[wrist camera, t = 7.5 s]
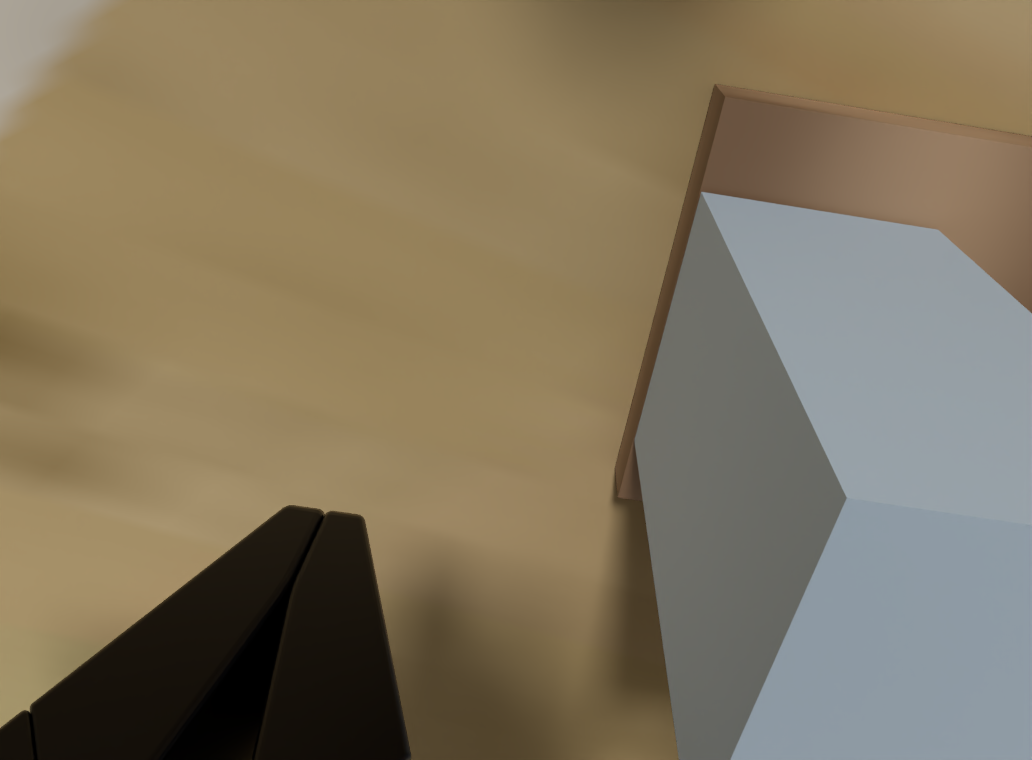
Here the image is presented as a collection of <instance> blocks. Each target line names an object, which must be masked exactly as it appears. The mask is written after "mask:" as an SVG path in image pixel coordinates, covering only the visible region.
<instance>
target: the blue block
mask: <svg viewBox="0 0 1032 760" xmlns="http://www.w3.org/2000/svg"><path fill="white" fill-rule="evenodd" d="M634 441H635V448H636V456H637V463H638V470H639V477H640V484H641V491H642V499H643V506H644V513H645V520H646V527H647V534H648V541H649V549H650V556H651V563H652V570H653V577H654V584H655V592H656V599H657V606H658V613H659V620H660V627H661V635H662V642H663V649H664V656H665V663H666V670H667V678H668V685H669V692H670V699H671V706H672V713H673V721H674V728H675V735H676V742H677V749H678V756H679V760H1032V313H1031V312H1029V311H1028V310H1027V309H1026V308H1025V307H1024V306H1023V305H1022V304H1021V303H1019V302H1018V301H1017V300H1016V299H1015V298H1014V297H1013V296H1012V295H1010V294H1009V293H1008V292H1007V291H1006V290H1005V289H1004V288H1003V287H1002V286H1000V285H999V284H998V283H997V282H996V281H995V280H994V279H993V278H991V277H990V276H989V275H988V274H987V273H986V272H985V271H984V270H983V269H981V268H980V267H979V266H978V265H977V264H976V263H975V262H974V261H973V260H971V259H970V258H969V257H968V256H967V255H966V254H965V253H964V252H962V251H961V250H960V249H959V248H958V247H957V246H956V245H955V244H954V243H952V242H951V241H950V240H949V239H948V238H947V237H946V236H945V235H943V234H942V233H941V232H940V231H939V230H936V229H930V228H924V227H918V226H912V225H905V224H899V223H893V222H887V221H880V220H874V219H868V218H862V217H856V216H849V215H843V214H837V213H831V212H824V211H818V210H812V209H806V208H799V207H793V206H787V205H781V204H775V203H768V202H762V201H756V200H750V199H743V198H737V197H731V196H725V195H718V194H712V193H706V192H701V195H700V198H699V202H698V206H697V210H696V213H695V217H694V221H693V224H692V228H691V232H690V236H689V239H688V243H687V247H686V250H685V254H684V258H683V262H682V265H681V269H680V273H679V276H678V280H677V284H676V288H675V291H674V295H673V299H672V302H671V306H670V310H669V314H668V317H667V321H666V325H665V329H664V332H663V336H662V340H661V343H660V347H659V351H658V355H657V358H656V362H655V366H654V369H653V373H652V377H651V381H650V384H649V388H648V392H647V395H646V399H645V403H644V407H643V410H642V414H641V418H640V421H639V425H638V429H637V433H636V436H635V440H634Z"/></svg>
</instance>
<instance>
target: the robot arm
mask: <svg viewBox="0 0 1032 760" xmlns="http://www.w3.org/2000/svg"><path fill="white" fill-rule="evenodd" d="M0 760H411V752H410V747H409V742H408V737H407V732H406V727H405V722H404V717H403V712H402V707H401V701H400V696H399V691H398V686H397V681H396V676H395V671H394V666H393V661H392V656H391V651H390V646H389V641H388V635H387V630H386V625H385V620H384V615H383V610H382V605H381V600H380V595H379V590H378V585H377V580H376V575H375V569H374V564H373V559H372V554H371V549H370V544H369V539H368V534H367V529H366V524H365V520H364V518H363V517H362V516H361V515H358V514H351V513H344V512H337V511H330V512H328V513H326V514H324V512H323V511H322V510H321V509H316V508H309V507H302V506H295V505H289V506H286V507H284V508H282V509H281V510H280V511H278V512H277V513H276V514H275V515H273V516H272V517H271V518H270V519H268V520H267V521H266V522H264V523H263V524H262V525H261V526H259V527H258V528H257V529H255V530H254V531H253V532H252V533H250V534H249V535H248V536H246V537H245V538H244V539H243V540H241V541H240V542H239V543H237V544H236V545H235V546H234V547H232V548H231V549H230V550H228V551H227V552H226V553H225V554H223V555H222V556H221V557H219V558H218V559H217V560H216V561H214V562H213V563H212V564H211V565H209V566H208V567H207V568H205V569H204V570H203V571H202V572H200V573H199V574H198V575H196V576H195V577H194V578H193V579H191V580H190V581H189V582H187V583H186V584H185V585H184V586H182V587H181V588H180V589H178V590H177V591H176V592H175V593H173V594H172V595H171V596H169V597H168V598H167V599H166V600H164V601H163V602H162V603H160V604H159V605H158V606H157V607H155V608H154V609H153V610H152V611H150V612H149V613H148V614H146V615H145V616H144V617H143V618H141V619H140V620H139V621H137V622H136V623H135V624H134V625H132V626H131V627H130V628H128V629H127V630H126V631H125V632H123V633H122V634H121V635H119V636H118V637H117V638H116V639H114V640H113V641H112V642H110V643H109V644H108V645H107V646H105V647H104V648H103V649H101V650H100V651H99V652H98V653H96V654H95V655H94V656H92V657H91V658H90V659H89V660H87V661H86V662H85V663H84V664H82V665H81V666H80V667H78V668H77V669H76V670H75V671H73V672H72V673H71V674H69V675H68V676H67V677H66V678H64V679H63V680H62V681H60V682H59V683H58V684H57V685H55V686H54V687H53V688H51V689H50V690H49V691H48V692H46V693H45V694H44V695H42V696H41V697H40V698H39V699H37V700H36V701H35V702H33V703H32V704H31V706H30V712H29V711H26V710H24V711H22V712H20V713H19V714H18V715H16V716H15V717H14V718H12V719H11V720H10V721H9V722H7V723H6V724H5V725H3V726H2V727H1V728H0Z"/></svg>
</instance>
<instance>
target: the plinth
mask: <svg viewBox="0 0 1032 760" xmlns="http://www.w3.org/2000/svg"><path fill="white" fill-rule="evenodd" d="M701 192H706V193H712V194H718V195H725V196H731V197H737V198H743V199H750V200H756V201H762V202H768V203H775V204H781V205H787V206H793V207H799V208H806V209H812V210H818V211H824V212H831V213H837V214H843V215H849V216H856V217H862V218H868V219H874V220H880V221H887V222H893V223H899V224H905V225H912V226H918V227H924V228H930V229H936V230H939V231H940V232H941V233H942V234H943V235H945V236H946V237H947V238H948V239H949V240H950V241H951V242H952V243H954V244H955V245H956V246H957V247H958V248H959V249H960V250H961V251H962V252H964V253H965V254H966V255H967V256H968V257H969V258H970V259H971V260H973V261H974V262H975V263H976V264H977V265H978V266H979V267H980V268H981V269H983V270H984V271H985V272H986V273H987V274H988V275H989V276H990V277H991V278H993V279H994V280H995V281H996V282H997V283H998V284H999V285H1000V286H1002V287H1003V288H1004V289H1005V290H1006V291H1007V292H1008V293H1009V294H1010V295H1012V296H1013V297H1014V298H1015V299H1016V300H1017V301H1018V302H1019V303H1021V304H1022V305H1023V306H1024V307H1025V308H1026V309H1027V310H1028V311H1029V312H1031V313H1032V136H1026V135H1020V134H1014V133H1008V132H1002V131H996V130H990V129H984V128H978V127H972V126H966V125H960V124H954V123H948V122H942V121H936V120H930V119H924V118H917V117H911V116H905V115H899V114H893V113H887V112H881V111H875V110H869V109H863V108H857V107H851V106H845V105H839V104H833V103H827V102H821V101H815V100H809V99H803V98H797V97H791V96H785V95H779V94H773V93H767V92H761V91H755V90H748V89H742V88H736V87H730V86H724V85H718V84H715V86H714V89H713V93H712V97H711V101H710V105H709V109H708V112H707V116H706V120H705V124H704V128H703V132H702V136H701V139H700V143H699V147H698V151H697V155H696V159H695V162H694V166H693V170H692V174H691V178H690V182H689V186H688V189H687V193H686V197H685V201H684V205H683V209H682V212H681V216H680V220H679V224H678V228H677V232H676V236H675V239H674V243H673V247H672V251H671V255H670V259H669V262H668V266H667V270H666V274H665V278H664V282H663V286H662V289H661V293H660V297H659V301H658V305H657V309H656V312H655V316H654V320H653V324H652V328H651V332H650V336H649V339H648V343H647V347H646V351H645V355H644V359H643V362H642V366H641V370H640V374H639V378H638V382H637V386H636V389H635V393H634V397H633V401H632V405H631V409H630V413H629V416H628V420H627V424H626V428H625V432H624V436H623V439H622V443H621V447H620V451H619V455H618V459H617V463H616V466H615V474H616V484H617V494H618V498H624V499H631V500H638V501H643V499H642V491H641V484H640V477H639V470H638V463H637V456H636V448H635V441H634V440H635V436H636V433H637V429H638V425H639V421H640V418H641V414H642V410H643V407H644V403H645V399H646V395H647V392H648V388H649V384H650V381H651V377H652V373H653V369H654V366H655V362H656V358H657V355H658V351H659V347H660V343H661V340H662V336H663V332H664V329H665V325H666V321H667V317H668V314H669V310H670V306H671V302H672V299H673V295H674V291H675V288H676V284H677V280H678V276H679V273H680V269H681V265H682V262H683V258H684V254H685V250H686V247H687V243H688V239H689V236H690V232H691V228H692V224H693V221H694V217H695V213H696V210H697V206H698V202H699V198H700V195H701Z"/></svg>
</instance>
